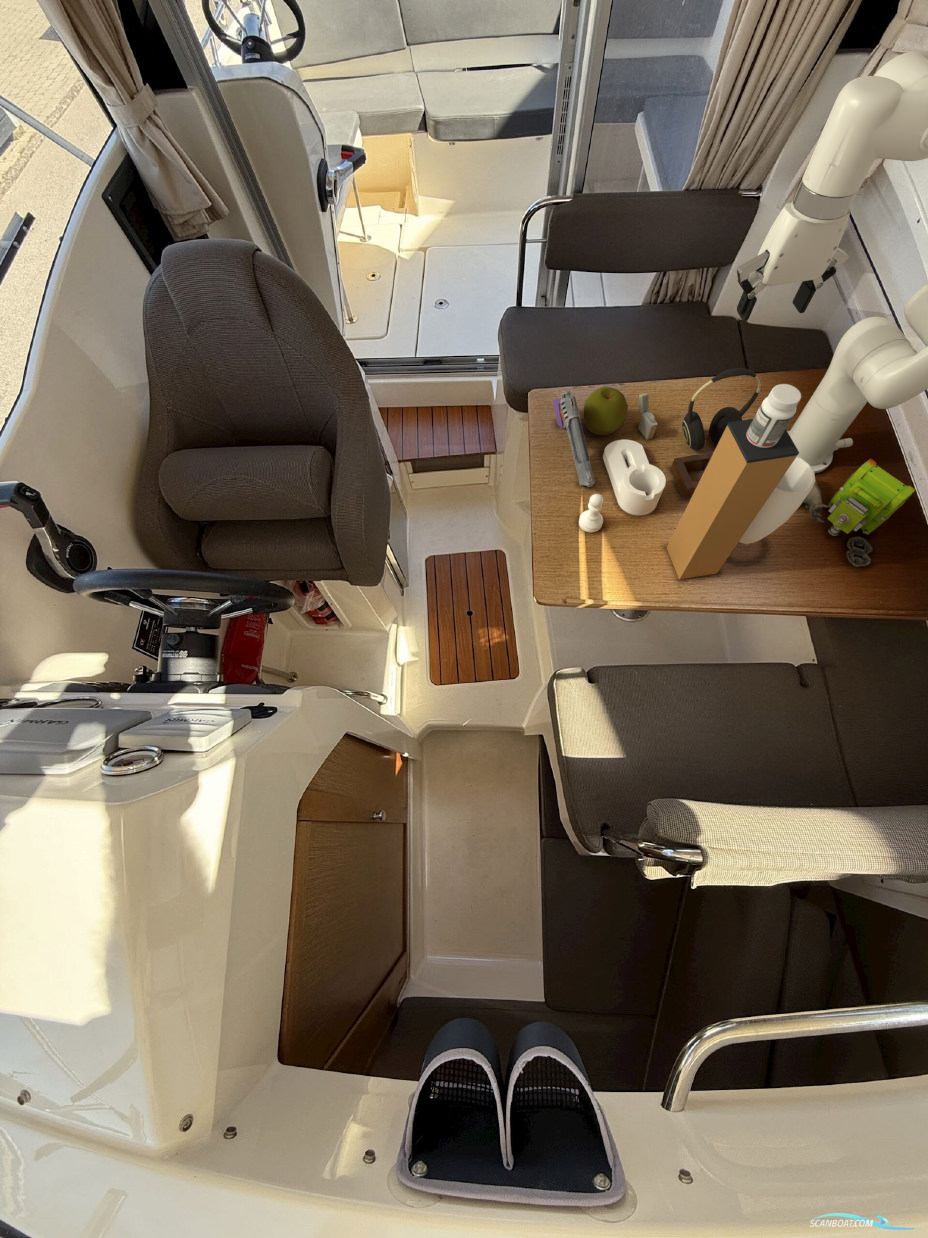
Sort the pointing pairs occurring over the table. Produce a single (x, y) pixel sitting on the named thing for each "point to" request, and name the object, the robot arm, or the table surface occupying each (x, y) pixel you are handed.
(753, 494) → the black-topped square pillar
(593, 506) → the chess pawn
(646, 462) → the bracket
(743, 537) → the cup
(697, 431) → the headphones
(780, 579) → the table surface
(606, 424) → the apple
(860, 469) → the lime green boxy piece
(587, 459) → the handgun
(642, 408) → the grey angled piece
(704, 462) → the holder
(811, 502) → the rhino figurine
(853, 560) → the corroded twin loop
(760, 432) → the pill bottle
